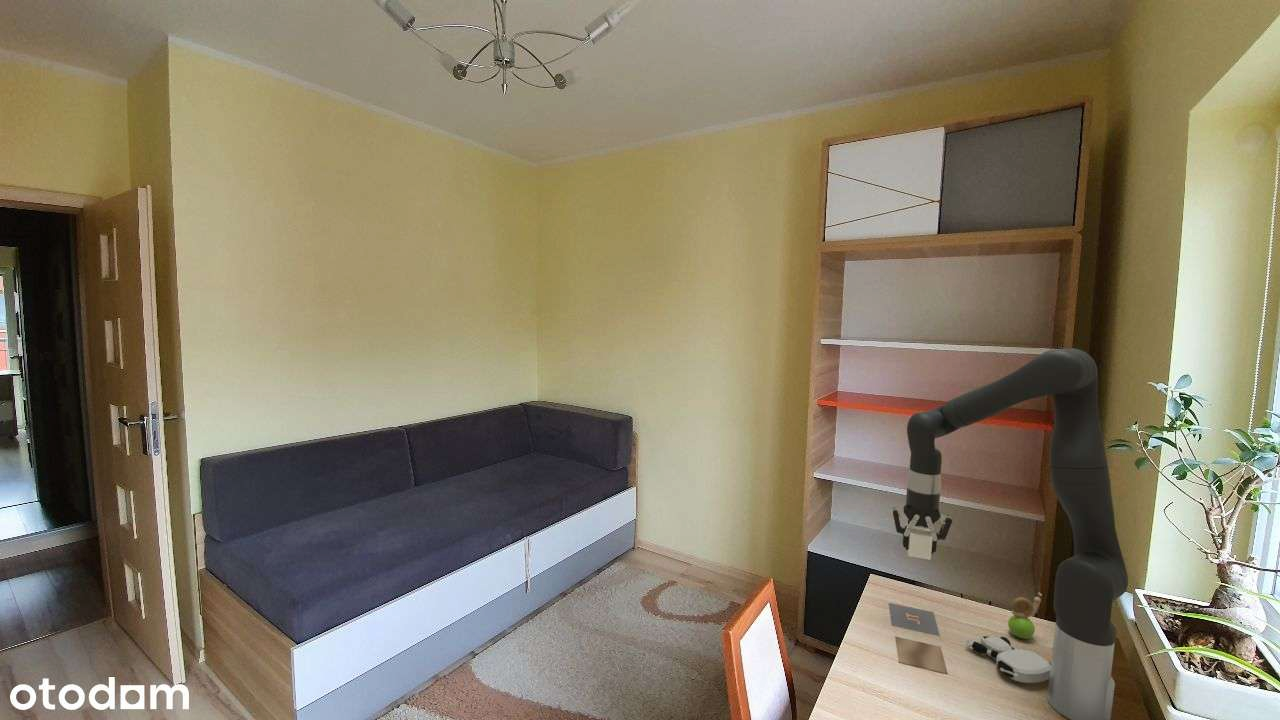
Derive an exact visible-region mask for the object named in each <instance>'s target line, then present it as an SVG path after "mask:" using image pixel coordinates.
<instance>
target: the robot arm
mask: <svg viewBox="0 0 1280 720" xmlns="http://www.w3.org/2000/svg"><path fill="white" fill-rule="evenodd" d="M1098 373H1099V372H1098V366H1097V364H1096V362H1095V360H1094V359H1093V358H1092V356H1091V355H1090V354H1088V353H1087V352H1086V351H1084V350H1081V349H1078V348H1071V347H1069V348H1067V347H1066V348H1055V349H1054V348H1053V349H1049V350H1046V351H1043V353H1041V354H1039V355H1038V356H1036V357H1034V358H1033V359H1031V360H1030V361H1028V362H1027V363H1026V364H1024V365H1022V366H1021V367H1019V368H1018V369H1016V370H1014V371H1012V372H1011V373H1009V374H1007V375H1005V376H1004V377H1001V378H999V379H998V380H995V381H993V382H990V383H988V384H986V385H983V386H981V387H978V388H976V389H972V390H971V391H968V392H965V393H964V394H961V395H959V396H957V397H954V398H952V399H950V400H948V401H947V402H946V403H944V405H941V406H939V407H936V408H934V409H931V410H926V411H919V412H916V413H914V414H912V415H911V416H910V418H909V419H908V422H907V426H906V434H907V439H908V446H909V450H910V459H909V470H908V474H907V481H906V482H907V483H906V484H907V485H906V497H905V505H904V506H903V507H902V508H897V507H892V509H891V511H892V516H893V521H894V525H895V531H896V533H898V534H901V535H902V546H903V548H905V551H907V550H909V534H910V532H911V530H913V528H914V527H922V528H924V529H929V531H930V534H931V535H932V537H933V538H932V550H931V555H934V553H936V552H937V544H938V541H939V540H941V541H945V540H946V539H947V536H948V534H949V531H950V528H951V526H952V523H953V519H952V517H951V516H950V515H948V514H947V515H945V514H942V513H941V512H940V509H939V508H940V501H941V499H940V498H941V491H942V479H941V478H942V477H941V473H942V462H943V459H942V458H943V456H942V452H941V451H940V450H939V449H937V448H936V444H935V439H938V438H941V437H945V436H947V435H949V434H952V433H954V432H956V431H957V430H960V429H961V428H965V427H968V426H971V425H974V424H977V423H979V422H982V421H984V420H986V419H989V418H991V417H993V416H996V415H998V414H999V413H1001V412H1003V411H1005V410H1008V409H1009V408H1010V407H1013V406H1015V405H1017V404H1020V403H1022V402H1026V401H1029V400H1033V399H1037V398H1042V397H1046V396H1052V401H1053V402H1052V403H1053V406H1054V407H1053V408H1054V426H1053V429H1052V434H1051V440H1050V445H1049V452H1048V453H1049V454H1048V458H1049V462H1048V463H1049V467H1050V468H1049V469H1050V476H1051V484H1052V487H1053V490H1054V493H1055V496H1056V497H1057V499H1058V501H1059V503H1060V504H1061V507H1062V508H1063V510H1064V512H1065V513H1066V515H1067V517H1068V519H1069V522H1070V525H1071V529H1072V534H1073V535H1072V536H1073V547H1074V549H1073V556H1072V557H1068V558H1067V559H1064V560H1063V561H1062V562H1061V563H1060V564H1059V565H1058V567H1057V570H1056V572H1055V580H1054V593H1053V594H1054V596H1053V610H1054V613H1055V617H1056V619H1055V628H1054V636H1053V643H1052V644H1053V645H1052V653H1051V661H1050V663H1051V670H1050V678H1049V679H1048V687H1047V696H1046V697H1047V699H1046V700H1047V702H1048V703H1049V705H1050V706H1051V707H1052V708H1053V710H1055V711H1056V712H1058V713H1059V714H1060V715H1062V717H1063V716H1064V717H1066V718H1067V719H1069V720H1111V718H1112V717H1111V716H1112V709H1113V702H1114V694H1115V688H1116V687H1115V685H1116V682H1115V680H1114V678H1113V677H1112V676H1111V675H1112V670H1113V669H1112V668H1113V662H1114V661H1113V660H1114V650H1115V645H1116V637H1117V630H1116V626H1115V625H1114V624H1113V623H1112V621H1111V620H1112V619H1111V618H1112V609H1113V602H1114V601H1115V600H1117V599H1118V598H1120V597H1121V596H1123V595H1124V594H1125V593H1126V590H1127V589H1128V586H1129V576H1128V571H1127V568H1126V563H1125V560H1124V557H1123V554H1122V549H1121V546H1120V541H1119V538H1118V534H1117V529H1116V528H1117V527H1116V522H1115V520H1116V519H1115V512H1114V510H1115V509H1114V503H1113V497H1112V485H1111V478H1110V471H1109V464H1108V459H1107V454H1106V448H1105V442H1104V435H1103V430H1102V426H1101V421H1100V415H1099V397H1098V396H1099V394H1098V393H1099V389H1098V388H1099V378H1098V377H1099V375H1098ZM903 514H904V515H905V516H906V518H907V521H906V522H905V526H904V527H903V526H901V522H900V518H902V517H903ZM939 520H940V523H941V527H940V529H939V532H936V531H935V526H934V524H935V523H937V521H939Z"/></svg>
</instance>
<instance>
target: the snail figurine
mask: <svg viewBox="0 0 1280 720" xmlns="http://www.w3.org/2000/svg"><path fill="white" fill-rule="evenodd" d="M1037 594H1038V596H1036V597H1034V599H1033V603H1032V602H1031V600H1030V599H1028V598H1026V597H1021V596H1020V597H1016V598H1014V599H1013V600H1012V602H1011V608H1012V609H1013V610H1012V611H1011V613H1012V615H1011V616H1010V617H1009V618H1008V620H1007V621H1008V622H1007V625H1008V629H1009V630H1010V632H1011V634H1013V635H1014V636H1015V637H1017V638H1019V639H1023V640H1024V639H1025V640H1026V639H1030V638H1032V637H1033V636H1034V635H1035V632H1036V627H1035V625H1034V623H1033V621H1032V620H1031V619H1030V618H1031V617H1033V616H1035V614H1036V613H1037V612H1038V609H1039V607H1040V603H1042V602H1041V601H1042V599H1041V598H1042V596H1043V594H1042V593H1041V592H1038V593H1037Z"/></svg>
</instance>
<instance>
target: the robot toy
mask: <svg viewBox="0 0 1280 720" xmlns="http://www.w3.org/2000/svg"><path fill="white" fill-rule="evenodd" d="M1011 644H1012V643H1011V641H1010V640H1009V639H1008V638H1007V637H1005V636H1002V635H997V636H992V635H986V636H985V635H984V636H981V637H980V642H978V641H973V642H972V641H971V640H967V641H965V645H966V647H968V648H972V649H971V650H972V651H973V652H977V653H979V654H985V655H987V656H988V657H990V658H992V659H994V660H995V661H996V663H995V664H996V665H995V666H997V669H998V670H999V671H1000V672H1002V674H1004V675H1006V676H1007V677H1009V678H1010V679H1011V680H1012V681H1015V682H1019V683H1025V684H1033V683H1034V684H1035V683H1037V684H1038V683H1042V682H1044V681H1047V680H1049V678H1050V670H1051V662H1049V661H1048V660H1046V659H1045V658H1043V657H1041V656H1040V655H1038V654H1036V653H1035V652H1033V651H1032V650H1031V651H1030V650H1027V649H1016V648H1015V647H1013V646H1012V645H1011Z"/></svg>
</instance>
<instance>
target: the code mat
mask: <svg viewBox="0 0 1280 720" xmlns="http://www.w3.org/2000/svg"><path fill="white" fill-rule="evenodd" d="M888 609H889V615H890V624H891V626H892V627H897V628H901V629H906V630H910V631H914V632H919V633H924V634H929V635H933V636H937V637H940V636H941V635H940V632H939V627H938V624H937V620H936V617H935V613H934V611H930V610H925V609H920V608H915V607H911V606H905V605H900V604H896V603H890V602H888Z"/></svg>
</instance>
